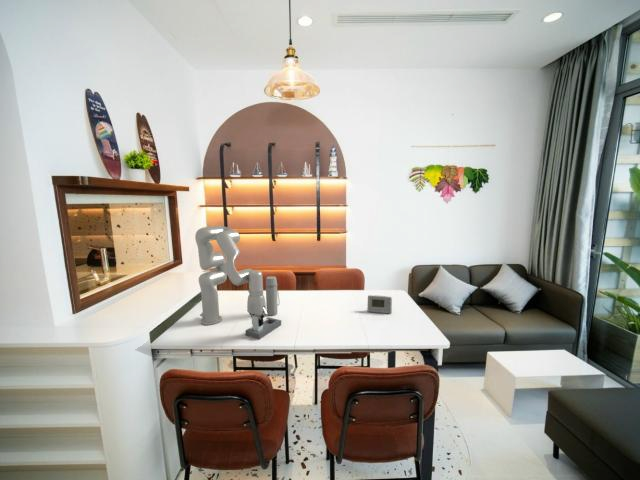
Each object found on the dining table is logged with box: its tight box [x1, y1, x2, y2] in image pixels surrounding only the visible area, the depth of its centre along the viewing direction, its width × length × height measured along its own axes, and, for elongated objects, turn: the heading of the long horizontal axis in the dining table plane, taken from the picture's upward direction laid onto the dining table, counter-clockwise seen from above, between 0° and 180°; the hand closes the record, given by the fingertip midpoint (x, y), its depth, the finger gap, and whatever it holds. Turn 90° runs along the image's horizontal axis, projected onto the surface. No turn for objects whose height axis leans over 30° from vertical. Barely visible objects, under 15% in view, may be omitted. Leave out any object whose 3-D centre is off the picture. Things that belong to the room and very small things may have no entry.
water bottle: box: [265, 275, 280, 317], centre depth 182 cm, size 9×8×25 cm
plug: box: [251, 314, 263, 332], centre depth 154 cm, size 4×4×10 cm
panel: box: [244, 316, 282, 340], centre depth 159 cm, size 10×20×3 cm, turn 152°
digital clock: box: [366, 294, 393, 314], centre depth 184 cm, size 16×9×11 cm, turn 65°
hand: (257, 324), depth 154 cm, fingers closed on plug, 4 cm apart
